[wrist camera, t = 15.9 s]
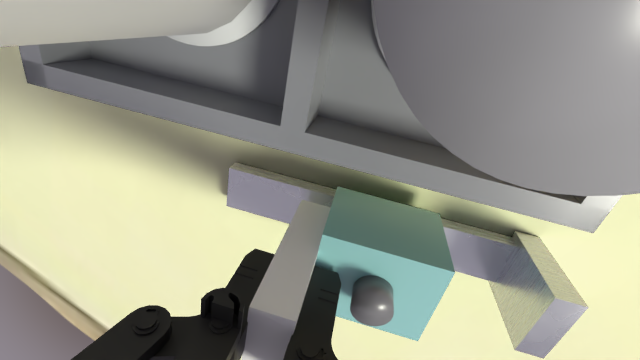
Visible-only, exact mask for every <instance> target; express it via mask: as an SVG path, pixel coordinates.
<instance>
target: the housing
mask: <svg viewBox="0 0 640 360" xmlns="http://www.w3.org/2000/svg"><path fill="white" fill-rule="evenodd" d="M19 50H20V54H21V58H22V63H23V67H24V71H25V75H26V79H27V83H30V84H33V85H37V86H41V87H45V88H48V89H52V90H56V91H60V92H63V93H67V94H71V95H75V96H78V97H82V98H86V99H90V100H94V101H97V102H101V103H105V104H109V105H112V106H116V107H120V108H124V109H127V110H131V111H135V112H139V113H142V114H146V115H150V116H154V117H158V118H161V119H165V120H169V121H173V122H176V123H180V124H184V125H188V126H191V127H195V128H199V129H203V130H206V131H210V132H214V133H218V134H222V135H225V136H229V137H233V138H237V139H240V140H244V141H248V142H252V143H255V144H259V145H263V146H267V147H270V148H274V149H278V150H282V151H286V152H289V153H293V154H297V155H301V156H304V157H308V158H312V159H316V160H319V161H323V162H327V163H331V164H335V165H338V166H342V167H346V168H350V169H353V170H357V171H361V172H365V173H368V174H372V175H376V176H380V177H383V178H387V179H391V180H395V181H399V182H402V183H406V184H410V185H414V186H417V187H421V188H425V189H429V190H432V191H436V192H440V193H444V194H447V195H451V196H455V197H459V198H463V199H466V200H470V201H474V202H478V203H481V204H485V205H489V206H493V207H496V208H500V209H504V210H508V211H511V212H515V213H519V214H523V215H527V216H530V217H534V218H538V219H542V220H545V221H549V222H553V223H557V224H560V225H564V226H568V227H572V228H575V229H579V230H583V231H587V232H591V233H594V232H595V230H596V229H597V228H598V227H599V225H600V224H601V223H602V221H603V220H604V219H605V217H606V216H607V215H608V213H609V212H610V211H611V210H612V208H613V207H614V206H615V204H616V203H617V202H618V200H619V199H620V198H621V196H622V195H618V196H577V195H565V194H554V193H549V192H544V191H538V190H533V189H528V188H524V187H521V186H518V185H515V184H512V183H508V182H505V181H502V180H499V179H497V178H495V177H493V176H491V175H488V174H486V173H484V172H482V171H480V170H478V169H476V168H474V167H472V166H471V165H469V164H468V163H466V162H464V161H463V160H461V159H460V158H458V157H457V156H455V155H454V154H452V153H451V152H450V151H449V150H447V149H446V148H445V147H444V146H443V145H442V144H441V143H439V142H438V141H437V140H436V139H435V138H434V137H432V135H431V134H430V133H429V132H428V131H427V130H426V128H425V127H424V126H423V125H422V124H421V123H420V122H419V120H418V119H417V118H416V117H415V116H414V114H413V113H412V111H411V109H410V108H409V106H408V105H407V103H406V102H405V100H404V98H403V97H402V95H401V94H400V92H399V90H398V88H397V85H396V83H395V81H394V79H393V77H392V75H391V72H390V70H389V68H388V66H387V62H386V59H385V56H384V52H383V49H382V46H381V43H380V39H379V36H378V30H377V24H376V18H375V12H374V6H373V0H252V1H251V2H250V3H249V4H248V5H247V6H246V7H245V8H244V9H243V10H242V11H241V12H240V13H239V14H238V15H237V16H236V17H235V19H234V20H233V21H232V22H230V23H228V24H226V25H224V26H221V27H219V28H217V29H215V30H213V31H211V32H208V33H202V34H187V35H172V36H158V37H143V38H128V39H113V40H98V41H83V42H68V43H54V44H39V45H24V46H19Z"/></svg>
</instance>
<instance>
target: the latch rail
mask: <svg viewBox="0 0 640 360" xmlns="http://www.w3.org/2000/svg"><path fill="white" fill-rule="evenodd" d="M336 190H337V189H333V188H329V187H326V186H322V185H318V184H315V183H311V182H307V181H304V180H300V179H296V178H293V177H289V176H285V175H281V174H278V173H274V172H270V171H267V170H263V169H259V168H256V167H252V166H248V165H245V164H241V163H237V162H235V163H234V164H233V165H232V166H231V167H230V168H229V178H228V193H227V206H229V207H232V208H236V209H239V210H243V211H246V212H250V213H253V214H257V215H260V216H264V217H268V218H271V219H275V220H278V221H282V222H285V223H289V224H290V223H291V221H292V219H293V217H294V215H295V213H296V211H297V209H298V207H299V205H300V203H301V201H302V200H306V201H309V202H313V203H316V204H320V205H323V206H327V207H330V208H331V206H332V202H333V199H334V196H335V193H336ZM441 221H442V224H443V228H444V232H445V236H446V240H447V243H448V247H449V251H450V255H451V259H452V262H453V266H454V270H455V271H457V272H461V273H464V274H468V275H471V276H475V277H478V278H482V279H485V280H488V281H489V284H490V287H491V289H492V292H493V295H494V297H495V300H496V302H497V305H498V308H499V310H500V313H501V315H502V318H503V321H504V323H505V326H506V328H507V331H508V334H509V336H510V339H511V342H512V344H513V347H514V349H515V350H517V351H520V352H524V353H527V354H530V355H534V356H537V357H540V358H544V357H545V356H546V355H547V354H548V353H549V352H550V351H551V349H552V348H553V347H554V346H555V345H556V344H557V343H558V341H559V340H560V339H561V338H562V337H563V336H564V335H565V333H566V332H567V331H568V330H569V329H570V328H571V327H572V326H573V324H574V323H575V322H576V321H577V320H578V319H579V318H580V316H581V315H582V314H583V313H584V312H585V311H586V310H587V308H588V306H587V305H586V303H585V302H584V300H583V299H582V298H581V296H580V295H579V293H578V292H577V290H576V289H575V288H574V286H573V285H572V283H571V282H570V280H569V279H568V278H567V276H566V275H565V273H564V272H563V270H562V269H561V268H560V266H559V265H558V263H557V262H556V260H555V259H554V258H553V256H552V255H551V253H550V252H549V250H548V249H547V248H546V246H545V245H544V243H543V242H542V240H541V239H540V237H536V236H532V235H529V234H525V233H521V232H518V231H514V233H513V235H512V236H511V237H509V236H506V235H502V234H498V233H495V232H491V231H487V230H484V229H480V228H476V227H473V226H469V225H465V224H462V223H458V222H454V221H451V220H447V219H443V218H441Z"/></svg>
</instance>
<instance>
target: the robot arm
mask: <svg viewBox="0 0 640 360" xmlns="http://www.w3.org/2000/svg"><path fill="white" fill-rule="evenodd" d="M330 209H331V208H330V207H327V206H323V205H320V204H316V203H313V202H309V201H306V200H302V201H301V203H300V205H299V207H298V209H297V211H296V213H295V215H294V217H293V219H292V221H291V223H290V225H289V227H288V229H287V231H286V233H285V235H284V237H283V239H282V241H281V243H280V245H279V247H278V249H277V251H276V253H275V254H271V253H268V252H265V251H261V250H258V249H254V250H253V251H251V252H250V253H248V254H247V255H246V256H245V257H244V259H243V260H242V262H241V264H240V266H239V267H238V269H237V270H236V272H235V274H234V275H233V277H232V278H231V280H230V281H229V283H228V285H227V286H226V288H220V289H215V290H212V291H210V292H208V293H207V294H206V295H205V296H204V297H203V298H202V299H201V315H197V316H191V317H171V316H170V313H169V312H168V311H167V310H166V309H165V308H163V307H160V306H150V305H149V306H145V307H141V308H139V309H137V310H135V311H133V312H132V313H130V314H129V315H128V316H126V317H125V318H124V319H122V320H121V321H120V322H119V323H117V324H116V325H115V326H113V327H112V328H111V329H110V330H108V331H107V332H106V333H104V334H103V335H102V336H101V337H99V338H98V339H97V340H96V341H94V342H93V343H92V344H90V345H89V346H88V347H87V348H85V349H84V350H83V351H82V352H80V353H79V354H78V355H76V356H75V357H74V358H72V359H71V360H240V358H241V356H242V360H338V359H337V358H336V356H335V354H334V352H333V350H332V345H331V338H332V332H333V327H334V321H335V316H336V311H337V304H338V300H339V294H340V289H341V281H340V277H339V274H338V273H337V272H334V271H331V270H327V269H324V268H321V267H317V266H315V262H316V258H317V255H318V251H319V246H320V242H321V238H322V234H323V231H324V228H325V224H326V221H327V218H328V215H329V212H330Z"/></svg>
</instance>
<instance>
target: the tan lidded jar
mask: <svg viewBox="0 0 640 360" xmlns="http://www.w3.org/2000/svg"><path fill="white" fill-rule="evenodd" d="M373 6H374V12H375V18H376V24H377V30H378V36H379V39H380V43H381V46H382V49H383V52H384V56H385V59H386V62H387V66H388V68H389V70H390V72H391V75H392V77H393V79H394V81H395V83H396V85H397V88H398V90H399V92H400V94H401V95H402V97H403V98H404V100H405V102H406V103H407V105H408V106H409V108H410V109H411V111H412V113H413V114H414V116H415V117H416V118H417V119H418V120H419V122H420V123H421V124H422V125H423V126H424V127H425V128H426V130H427V131H428V132H429V133H430V134H431V135H432V137H434V138H435V139H436V140H437V141H438V142H439V143H441V144H442V145H443V146H444V147H445V148H446V149H447V150H449V151H450V152H451V153H452V154H454V155H455V156H457V157H458V158H460V159H461V160H463V161H464V162H466V163H468V164H469V165H471V166H472V167H474V168H476V169H478V170H480V171H482V172H484V173H486V174H488V175H491V176H493V177H495V178H497V179H499V180H502V181H505V182H508V183H512V184H515V185H518V186H521V187H524V188H528V189H533V190H538V191H544V192H549V193H554V194H565V195H577V196H618V195H627V194H636V193H640V0H373Z"/></svg>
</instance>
